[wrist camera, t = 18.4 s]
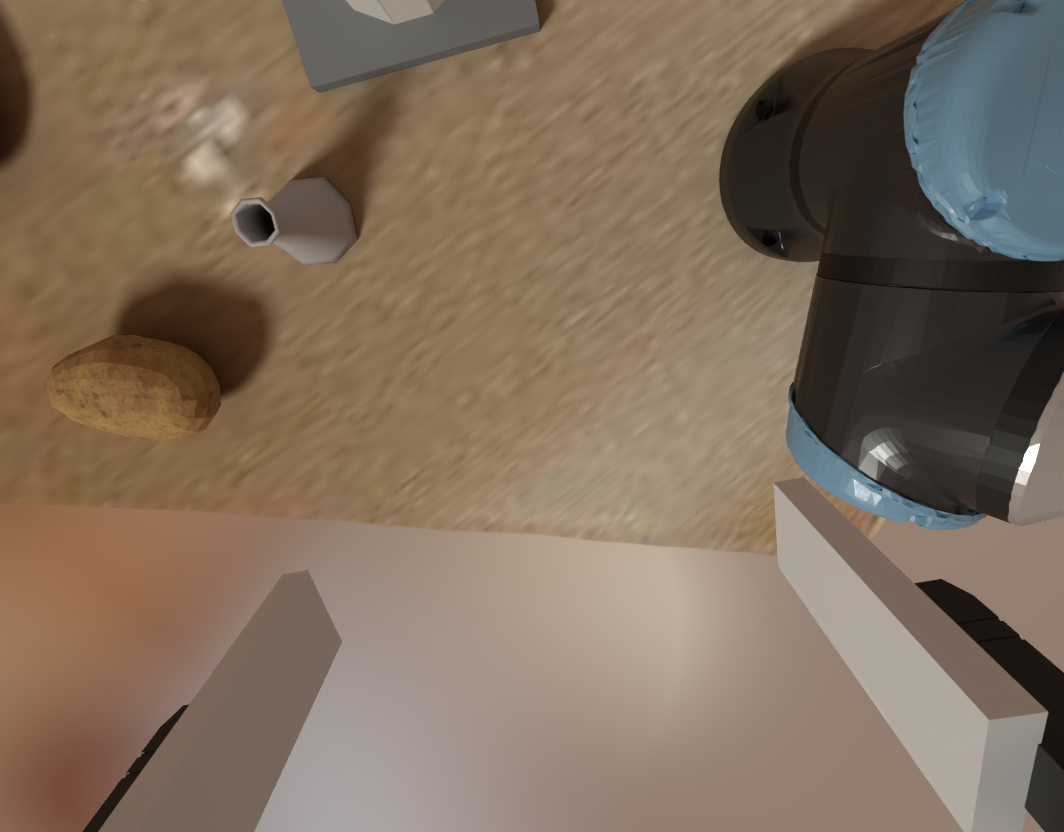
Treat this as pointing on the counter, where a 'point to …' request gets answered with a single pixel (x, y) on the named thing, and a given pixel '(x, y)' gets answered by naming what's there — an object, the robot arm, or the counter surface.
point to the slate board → (397, 36)
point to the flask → (299, 221)
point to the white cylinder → (395, 9)
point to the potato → (136, 388)
